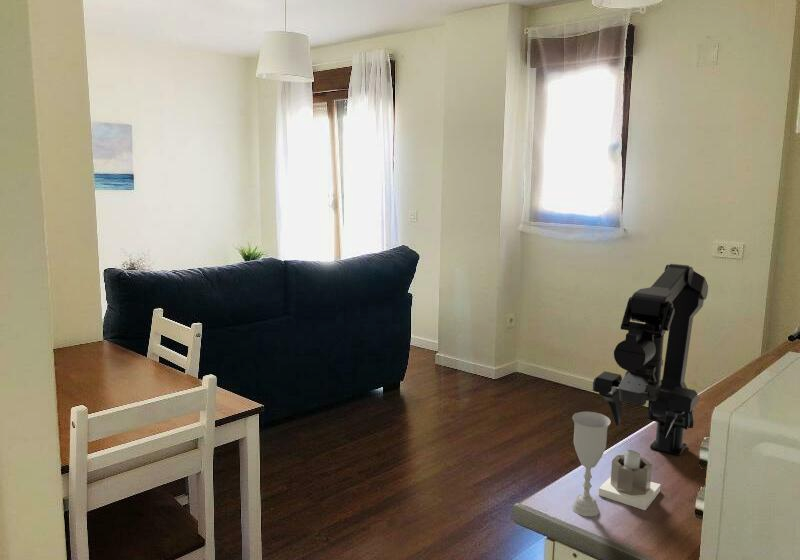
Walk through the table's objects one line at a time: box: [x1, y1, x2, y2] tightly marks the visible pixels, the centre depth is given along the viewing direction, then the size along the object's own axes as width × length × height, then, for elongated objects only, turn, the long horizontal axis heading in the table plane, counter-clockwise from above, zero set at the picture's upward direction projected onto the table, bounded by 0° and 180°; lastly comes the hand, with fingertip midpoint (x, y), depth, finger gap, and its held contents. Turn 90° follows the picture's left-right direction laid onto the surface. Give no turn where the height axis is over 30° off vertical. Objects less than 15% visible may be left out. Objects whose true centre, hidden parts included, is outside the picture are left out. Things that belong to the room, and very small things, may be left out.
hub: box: [610, 454, 653, 496], centre depth 127 cm, size 7×7×5 cm
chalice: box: [571, 411, 611, 517], centre depth 120 cm, size 7×7×18 cm
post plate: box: [598, 449, 662, 511], centre depth 127 cm, size 9×9×8 cm
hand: (640, 431), depth 129 cm, fingers open, 9 cm apart
